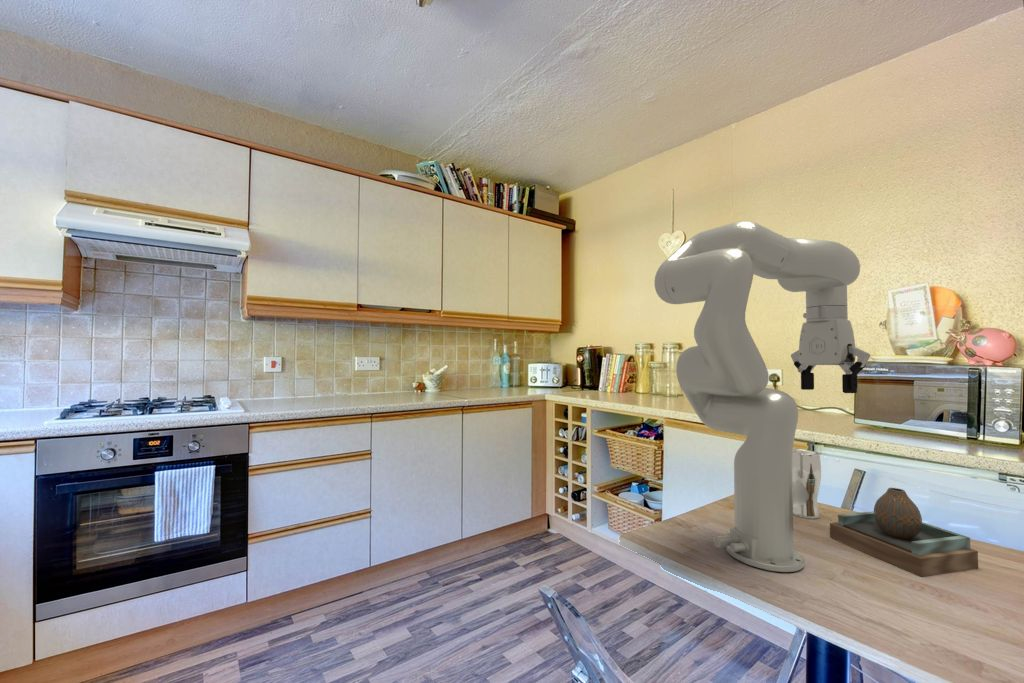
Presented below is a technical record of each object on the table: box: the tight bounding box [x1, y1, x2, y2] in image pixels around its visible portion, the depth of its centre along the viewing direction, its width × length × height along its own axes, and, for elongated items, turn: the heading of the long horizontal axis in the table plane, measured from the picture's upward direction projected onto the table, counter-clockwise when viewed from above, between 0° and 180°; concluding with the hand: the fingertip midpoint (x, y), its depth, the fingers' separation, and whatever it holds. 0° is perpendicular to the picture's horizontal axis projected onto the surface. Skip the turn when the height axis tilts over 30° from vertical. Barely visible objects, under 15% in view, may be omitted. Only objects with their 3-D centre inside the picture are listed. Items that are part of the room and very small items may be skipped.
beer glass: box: [792, 448, 822, 520], centre depth 101 cm, size 7×7×15 cm
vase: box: [873, 487, 923, 539], centre depth 81 cm, size 7×7×9 cm
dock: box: [829, 510, 979, 577], centre depth 81 cm, size 14×16×5 cm
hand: (827, 391), depth 93 cm, fingers open, 9 cm apart
